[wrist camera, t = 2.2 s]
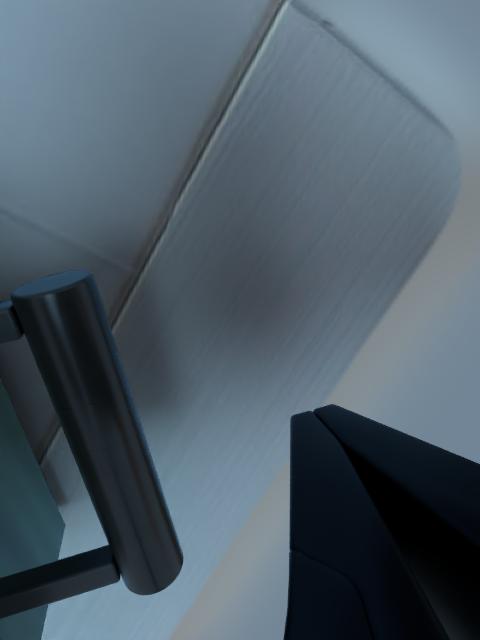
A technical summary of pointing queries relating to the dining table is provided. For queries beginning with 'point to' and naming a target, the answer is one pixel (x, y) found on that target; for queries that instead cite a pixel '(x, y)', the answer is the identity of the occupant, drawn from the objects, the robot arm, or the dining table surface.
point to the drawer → (90, 455)
